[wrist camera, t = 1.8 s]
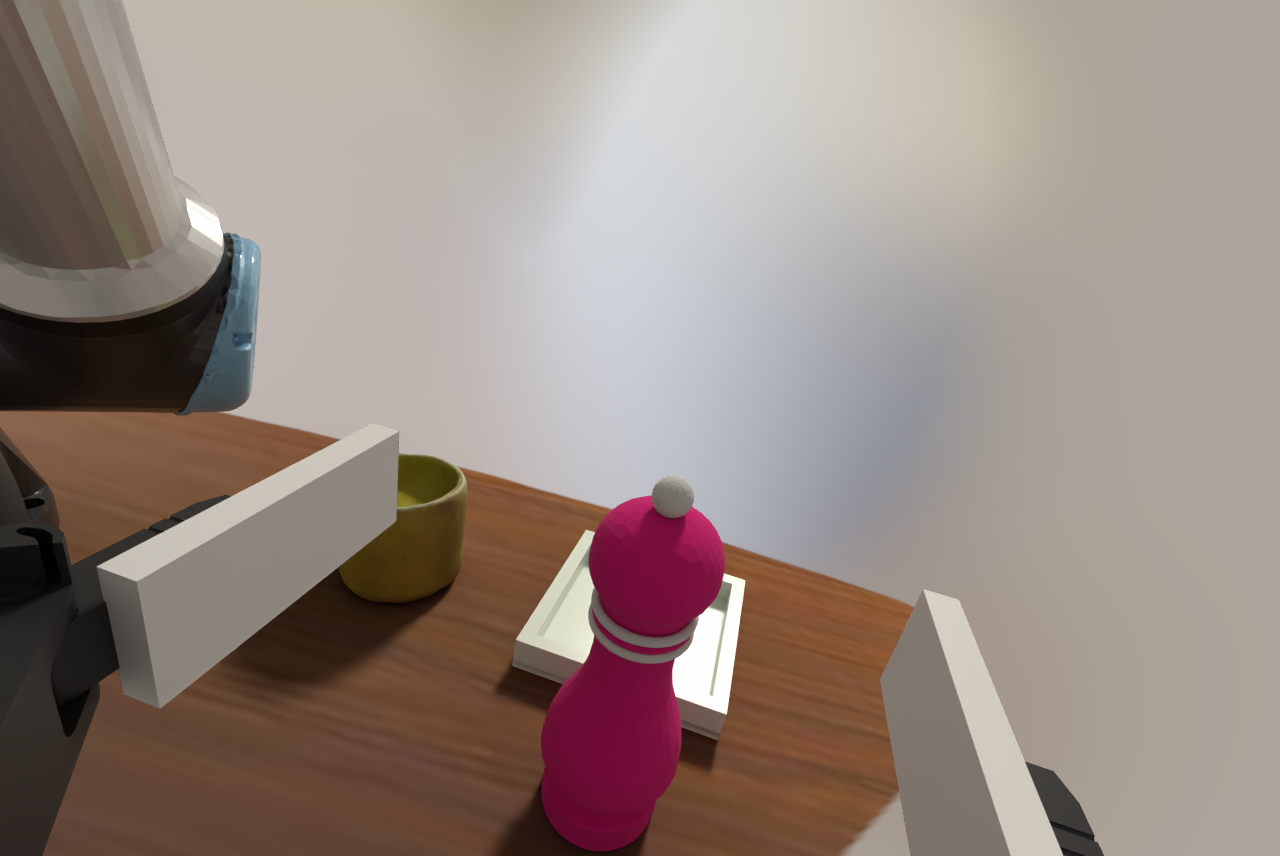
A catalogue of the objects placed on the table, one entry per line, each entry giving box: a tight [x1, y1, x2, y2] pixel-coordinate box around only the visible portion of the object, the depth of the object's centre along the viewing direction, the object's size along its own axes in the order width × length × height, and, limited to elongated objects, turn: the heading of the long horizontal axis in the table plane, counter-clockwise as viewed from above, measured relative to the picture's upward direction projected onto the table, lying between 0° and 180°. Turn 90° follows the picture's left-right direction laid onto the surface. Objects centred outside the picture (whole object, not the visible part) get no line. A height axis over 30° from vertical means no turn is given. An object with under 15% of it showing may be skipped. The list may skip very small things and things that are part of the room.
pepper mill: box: [541, 476, 725, 852], centre depth 28 cm, size 7×7×20 cm
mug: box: [338, 454, 467, 603], centre depth 45 cm, size 12×10×10 cm
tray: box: [512, 530, 745, 740], centre depth 44 cm, size 14×14×2 cm
